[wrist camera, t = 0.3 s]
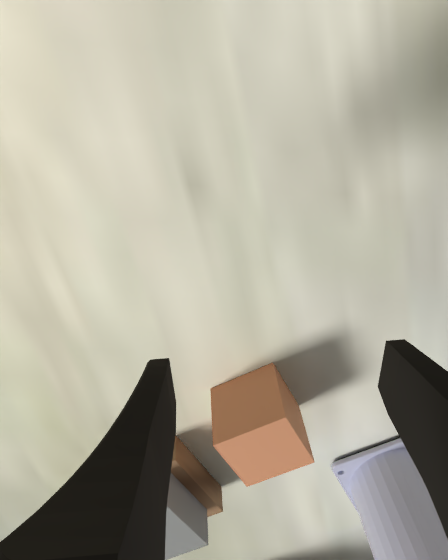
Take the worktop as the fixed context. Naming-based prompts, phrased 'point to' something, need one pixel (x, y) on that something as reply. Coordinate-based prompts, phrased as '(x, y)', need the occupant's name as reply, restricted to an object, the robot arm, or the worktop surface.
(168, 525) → the grey slab
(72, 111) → the worktop surface
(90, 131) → the worktop surface
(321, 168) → the worktop surface
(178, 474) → the walnut slab
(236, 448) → the terracotta cube
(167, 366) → the robot arm
